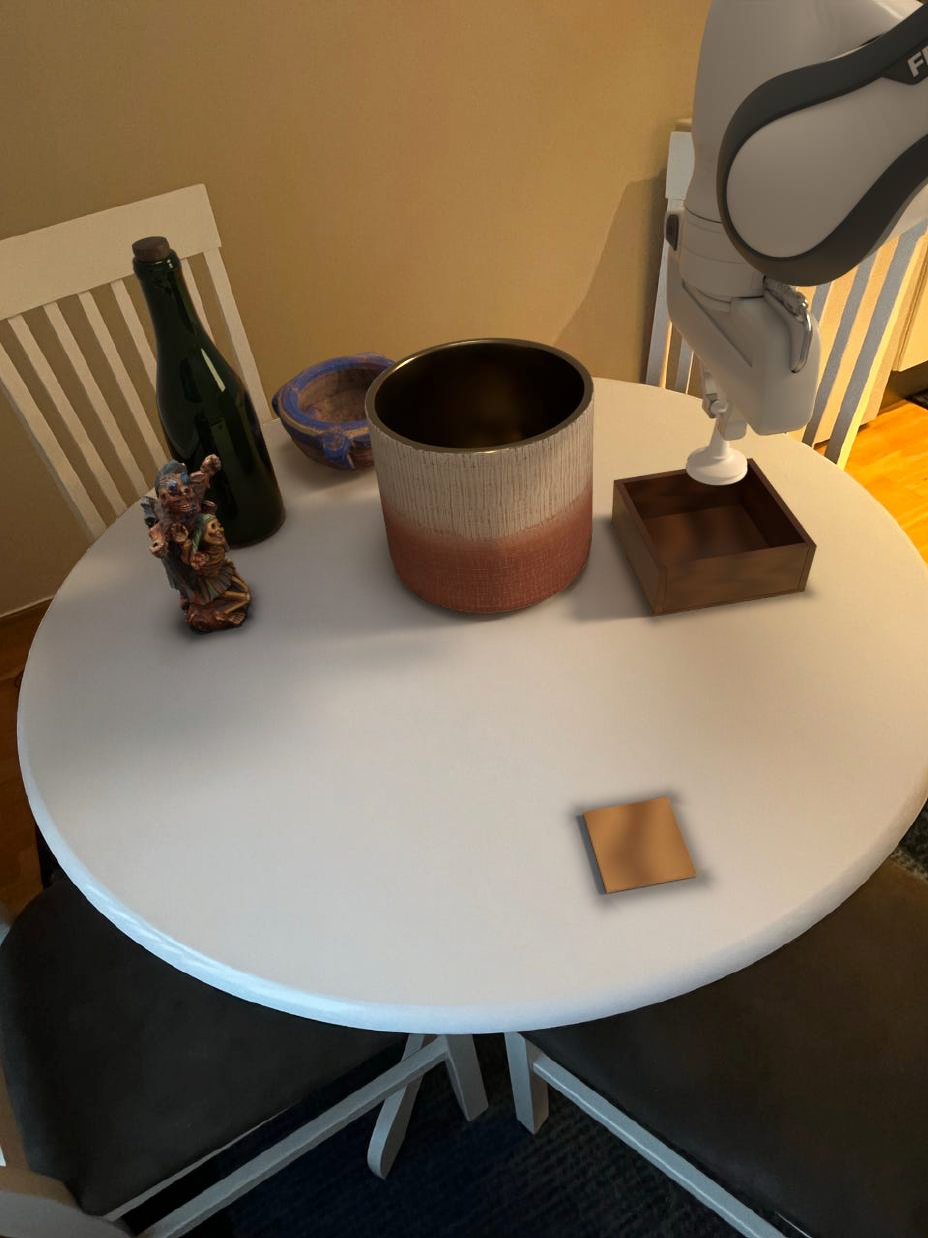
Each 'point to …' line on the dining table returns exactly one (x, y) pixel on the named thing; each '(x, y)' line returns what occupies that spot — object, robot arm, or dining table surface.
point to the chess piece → (717, 454)
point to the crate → (709, 539)
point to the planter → (485, 471)
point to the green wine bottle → (206, 402)
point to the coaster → (638, 845)
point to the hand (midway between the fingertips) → (722, 424)
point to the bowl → (331, 410)
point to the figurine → (195, 548)
